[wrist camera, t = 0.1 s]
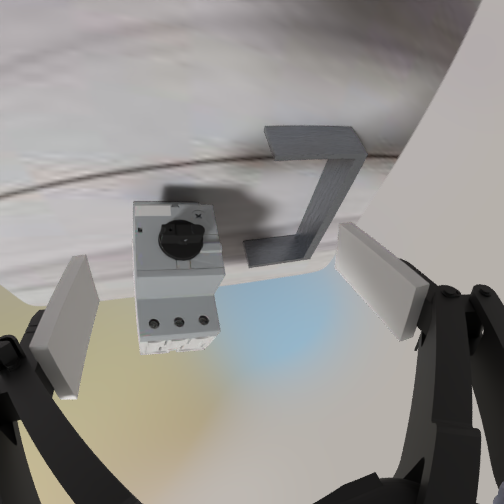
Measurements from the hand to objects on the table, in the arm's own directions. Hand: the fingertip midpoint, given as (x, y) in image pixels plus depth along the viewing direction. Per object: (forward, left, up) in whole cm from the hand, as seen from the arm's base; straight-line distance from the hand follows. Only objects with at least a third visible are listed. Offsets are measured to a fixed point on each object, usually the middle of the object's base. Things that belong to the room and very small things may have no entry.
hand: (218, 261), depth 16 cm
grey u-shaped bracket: (+15, +11, -15) cm, 24 cm away
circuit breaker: (+15, -3, -15) cm, 22 cm away
